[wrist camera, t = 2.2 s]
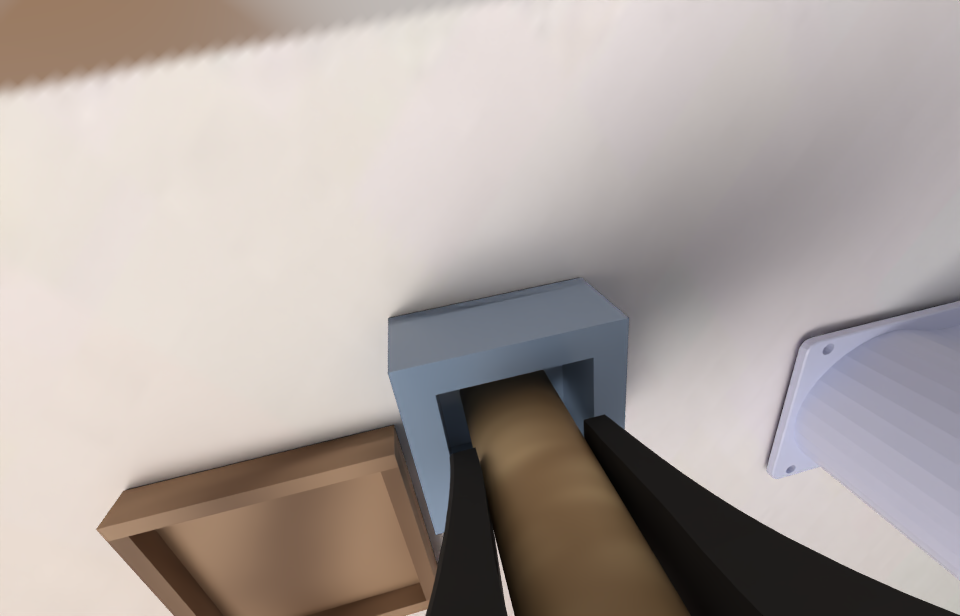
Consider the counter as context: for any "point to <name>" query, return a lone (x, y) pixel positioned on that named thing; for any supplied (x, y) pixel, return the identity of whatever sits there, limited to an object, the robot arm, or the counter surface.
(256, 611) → the walnut tray
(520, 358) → the ceramic holder
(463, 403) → the oak dowel
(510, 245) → the counter surface
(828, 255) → the counter surface
